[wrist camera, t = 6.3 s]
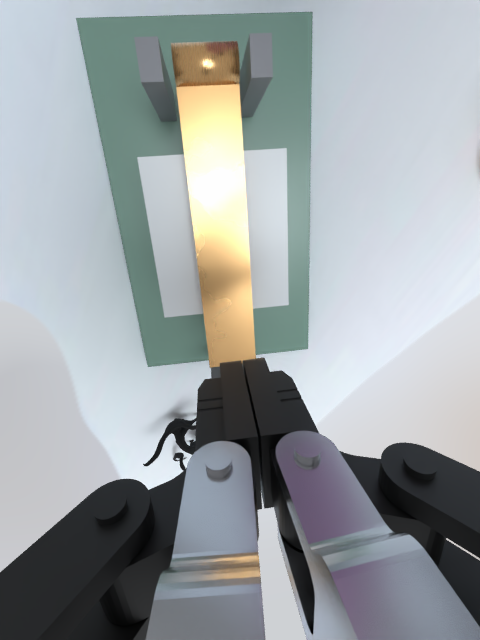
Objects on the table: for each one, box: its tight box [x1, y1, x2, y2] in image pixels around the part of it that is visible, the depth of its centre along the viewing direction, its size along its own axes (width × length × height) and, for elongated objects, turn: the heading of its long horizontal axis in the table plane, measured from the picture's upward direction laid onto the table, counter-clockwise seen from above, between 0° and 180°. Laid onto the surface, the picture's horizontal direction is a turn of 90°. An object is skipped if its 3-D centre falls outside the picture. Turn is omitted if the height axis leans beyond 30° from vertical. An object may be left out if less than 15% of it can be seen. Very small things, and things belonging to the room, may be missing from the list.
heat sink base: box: [76, 12, 312, 379], centre depth 19 cm, size 23×14×9 cm, turn 4°
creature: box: [143, 418, 197, 471], centre depth 28 cm, size 8×5×8 cm
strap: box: [171, 41, 256, 368], centre depth 17 cm, size 17×3×2 cm, turn 4°
